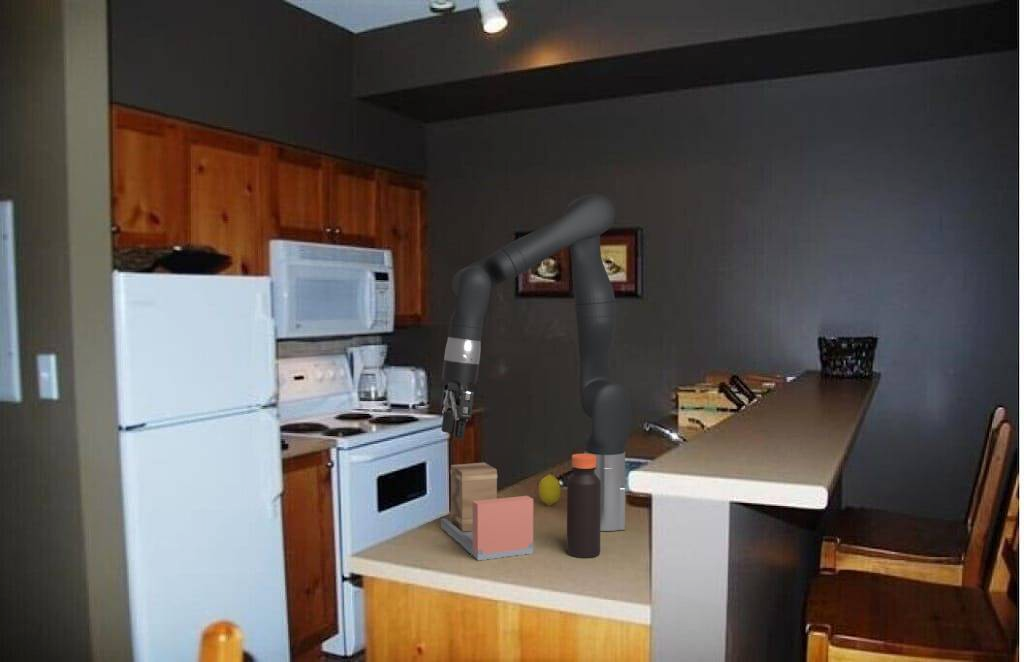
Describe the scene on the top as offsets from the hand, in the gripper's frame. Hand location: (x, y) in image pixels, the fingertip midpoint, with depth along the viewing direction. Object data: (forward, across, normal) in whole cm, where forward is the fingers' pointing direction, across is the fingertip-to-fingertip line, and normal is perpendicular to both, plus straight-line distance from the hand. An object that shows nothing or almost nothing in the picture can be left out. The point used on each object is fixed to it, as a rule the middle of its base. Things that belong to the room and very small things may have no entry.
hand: (452, 435), depth 165 cm
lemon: (+19, +18, -34) cm, 43 cm away
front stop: (+20, -13, -9) cm, 26 cm away
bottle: (+20, -18, -25) cm, 37 cm away
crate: (+20, +5, -9) cm, 23 cm away
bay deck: (+22, -3, -10) cm, 24 cm away
